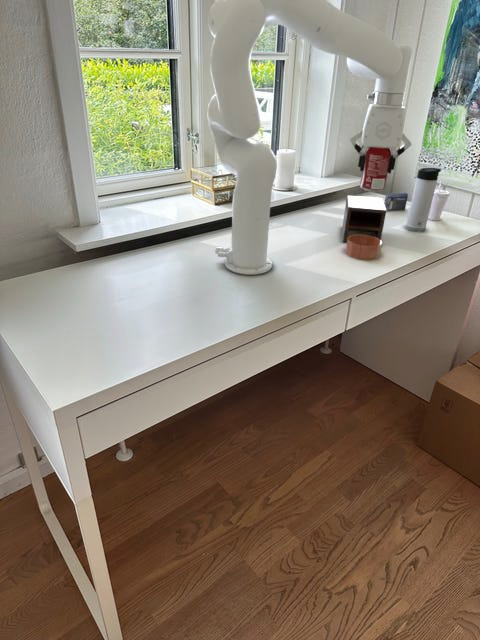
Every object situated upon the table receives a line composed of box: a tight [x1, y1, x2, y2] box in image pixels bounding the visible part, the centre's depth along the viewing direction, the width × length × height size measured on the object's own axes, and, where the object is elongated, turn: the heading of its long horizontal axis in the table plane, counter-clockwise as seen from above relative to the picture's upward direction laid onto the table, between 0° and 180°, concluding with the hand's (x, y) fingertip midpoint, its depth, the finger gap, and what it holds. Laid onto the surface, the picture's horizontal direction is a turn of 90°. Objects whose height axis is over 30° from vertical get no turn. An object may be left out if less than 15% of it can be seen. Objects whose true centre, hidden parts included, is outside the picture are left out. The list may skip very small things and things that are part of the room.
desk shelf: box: [341, 194, 387, 244], centre depth 146 cm, size 11×13×11 cm
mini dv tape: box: [384, 192, 409, 212], centre depth 174 cm, size 8×2×6 cm, turn 103°
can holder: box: [345, 233, 383, 261], centre depth 136 cm, size 10×10×4 cm
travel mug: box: [405, 167, 442, 233], centre depth 152 cm, size 6×7×20 cm
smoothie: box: [428, 178, 451, 221], centre depth 164 cm, size 6×6×14 cm
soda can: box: [359, 147, 392, 193], centre depth 129 cm, size 7×7×12 cm
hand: (375, 170), depth 129 cm, fingers closed on soda can, 6 cm apart
